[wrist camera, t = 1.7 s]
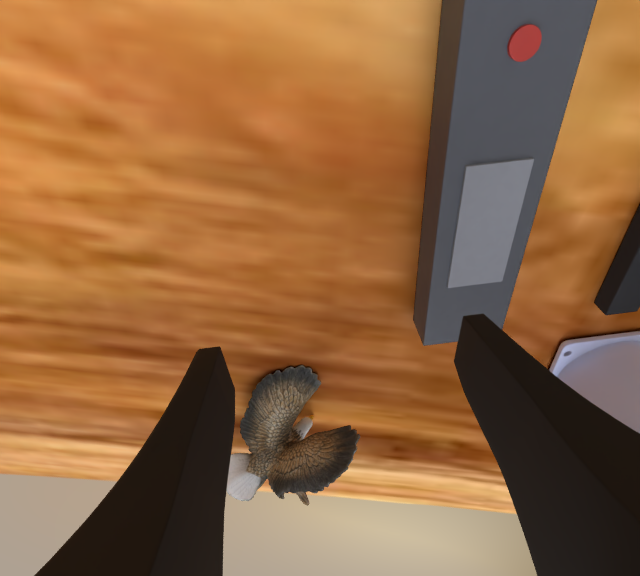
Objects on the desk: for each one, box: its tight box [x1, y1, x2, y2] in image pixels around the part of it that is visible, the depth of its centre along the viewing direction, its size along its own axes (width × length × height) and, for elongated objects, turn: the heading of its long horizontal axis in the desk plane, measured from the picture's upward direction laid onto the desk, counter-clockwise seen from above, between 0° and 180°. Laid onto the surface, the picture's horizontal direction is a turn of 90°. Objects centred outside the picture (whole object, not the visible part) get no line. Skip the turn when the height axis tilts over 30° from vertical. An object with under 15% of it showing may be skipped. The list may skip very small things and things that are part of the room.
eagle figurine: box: [226, 365, 360, 505], centre depth 27 cm, size 8×7×9 cm
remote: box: [413, 0, 597, 346], centre depth 19 cm, size 17×4×2 cm, turn 5°
